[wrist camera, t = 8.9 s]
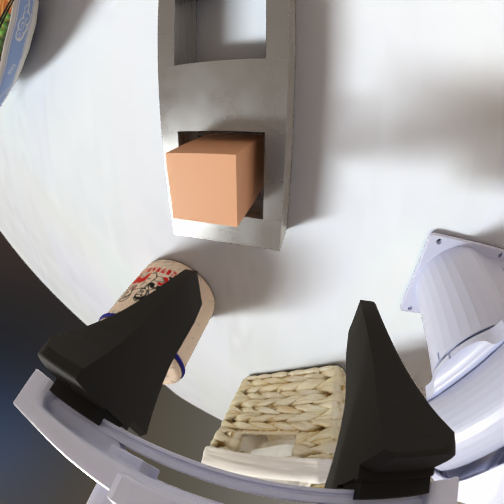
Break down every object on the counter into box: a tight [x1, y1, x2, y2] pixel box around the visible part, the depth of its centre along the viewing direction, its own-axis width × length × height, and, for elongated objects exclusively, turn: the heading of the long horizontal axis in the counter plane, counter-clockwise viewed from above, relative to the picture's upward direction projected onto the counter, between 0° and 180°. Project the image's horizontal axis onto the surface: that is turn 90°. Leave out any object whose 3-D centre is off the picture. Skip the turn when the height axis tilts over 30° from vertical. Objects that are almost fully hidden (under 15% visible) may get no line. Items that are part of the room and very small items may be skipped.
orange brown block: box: [165, 133, 264, 227], centre depth 16 cm, size 4×4×6 cm
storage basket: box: [202, 366, 346, 488], centre depth 30 cm, size 24×16×15 cm
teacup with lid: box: [99, 260, 215, 384], centre depth 25 cm, size 12×9×12 cm
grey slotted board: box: [158, 0, 296, 251], centre depth 15 cm, size 20×8×3 cm, turn 0°
